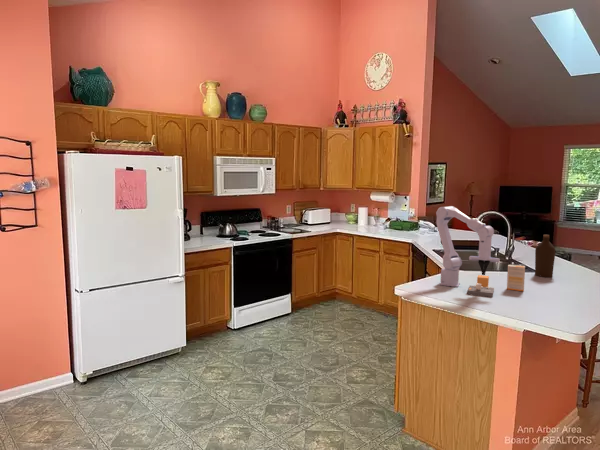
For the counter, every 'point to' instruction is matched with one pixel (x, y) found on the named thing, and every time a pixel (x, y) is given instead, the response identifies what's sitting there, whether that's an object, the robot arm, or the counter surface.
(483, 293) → the breaker panel
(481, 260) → the robot arm
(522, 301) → the counter surface
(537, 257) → the olive oil
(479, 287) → the switch
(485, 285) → the cap
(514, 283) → the supplement box
